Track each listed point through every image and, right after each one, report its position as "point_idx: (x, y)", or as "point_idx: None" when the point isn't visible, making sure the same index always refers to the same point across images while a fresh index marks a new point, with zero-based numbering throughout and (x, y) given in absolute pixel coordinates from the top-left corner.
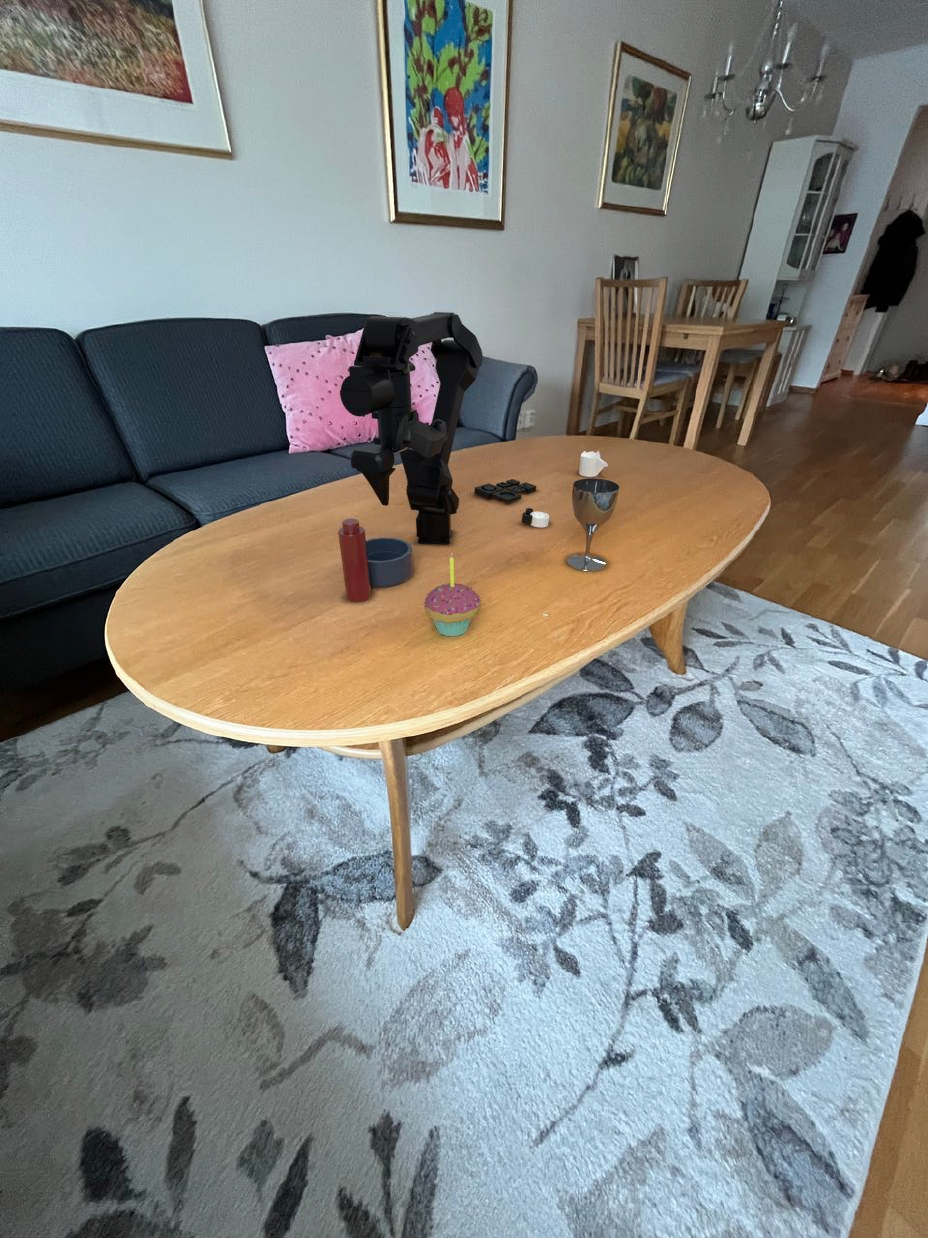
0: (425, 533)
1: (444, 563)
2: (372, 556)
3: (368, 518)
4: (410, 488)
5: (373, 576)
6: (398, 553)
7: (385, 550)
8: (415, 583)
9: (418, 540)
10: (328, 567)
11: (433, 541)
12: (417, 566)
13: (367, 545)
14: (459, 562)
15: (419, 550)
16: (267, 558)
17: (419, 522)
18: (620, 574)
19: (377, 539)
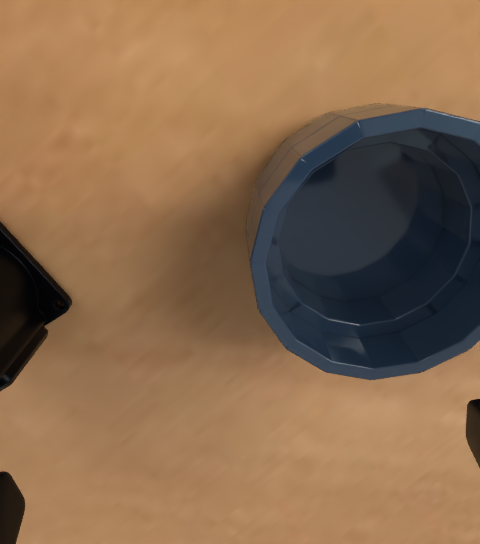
0: (24, 307)
1: (123, 94)
2: (337, 314)
3: (64, 529)
4: (23, 506)
5: None
6: (277, 243)
7: (288, 301)
8: (345, 70)
9: (64, 310)
10: (400, 394)
11: (23, 259)
12: (221, 172)
13: (353, 354)
14: (66, 39)
15: (110, 261)
16: (435, 530)
17: (12, 358)
18: None
19: (314, 350)
